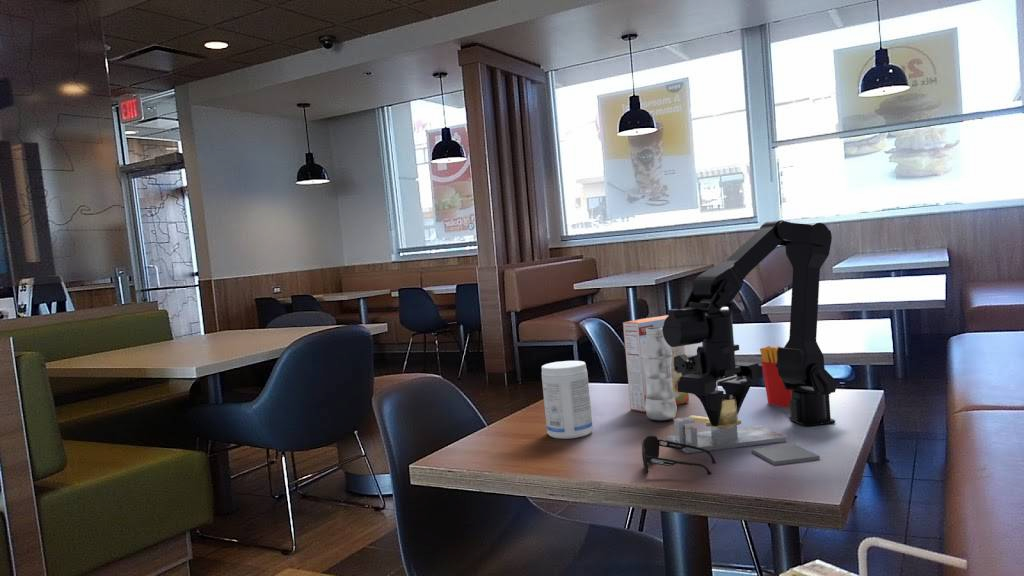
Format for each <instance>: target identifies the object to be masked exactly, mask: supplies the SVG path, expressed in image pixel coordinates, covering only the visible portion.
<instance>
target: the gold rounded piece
mask: <svg viewBox="0 0 1024 576" xmlns="http://www.w3.org/2000/svg"><path fill="white" fill-rule="evenodd" d="M738 415H739V414H738ZM738 415H737V401H736V397H734V396H732V395H731V394H725V393H723V400H722V405H721V412H720V418H719V422H718V426H712V425H711V423H710V420H709V418H708V416H700V415H694V414H693V415H692V414H691V415H689V416H687V417H691V418H693V419H694V420H695V423H702V424H705V426H706V427H710V428H711V427H718V428H724V429H729V428H731V427H734V426H737V427H738V426H739V425H742V420H740V419H739V418H738Z"/></svg>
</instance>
